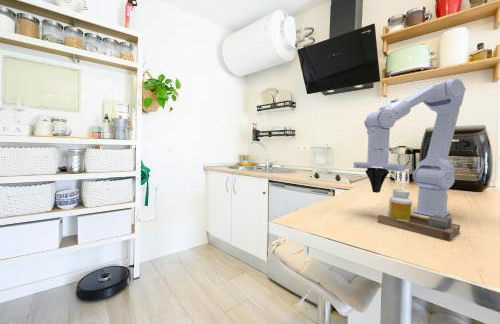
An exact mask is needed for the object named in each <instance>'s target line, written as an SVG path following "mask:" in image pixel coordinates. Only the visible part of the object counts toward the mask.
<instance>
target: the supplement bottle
mask: <svg viewBox="0 0 500 324" xmlns="http://www.w3.org/2000/svg"><path fill="white" fill-rule="evenodd" d="M410 192H411V191H410V190H407V189H400V188H399V189H398V188H394V189H392V196H390V197H389V199H388V200H389V203H388V212H387V217H392V218H396V219H403V220H407V221H409V222H410V215H411V214H412V213H411V212H412V204H413V202H412V199H411V198H409V197H410Z"/></svg>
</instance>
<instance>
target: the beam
mask: <svg viewBox="0 0 500 324" xmlns="http://www.w3.org/2000/svg"><path fill="white" fill-rule="evenodd" d="M452 221H453V218H452V217H449V216H445V217H444V216H439V215H433V216H429V217H428V218H427V217H423V216H420V215H417V214H413V213H411V215H410V222H409V221H407V220H403V219H396V218H392V217H388V215H384V214H378V216H377V223H379V224H383V225H387V226H390V227H393V228H394V227H395V228H397V229H403V230H406V231H409V232H410V231H411V232H413V233H417V234H422V235H425V236H428V237H432V238H437V239H440V240H444V241H448V242H450V241H452V240H453V239H454V238H455V237H456V236H458V234H460V229H461V225H460V224H455V223H453V222H452Z"/></svg>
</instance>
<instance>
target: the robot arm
mask: <svg viewBox="0 0 500 324" xmlns="http://www.w3.org/2000/svg"><path fill="white" fill-rule="evenodd" d="M465 92H466V87H465V85H464V82H463V81H462V79H460V78H458V77H452V78H450V79H448V80H444V81H443V80H442V81H441V82H437V83H434V84H430V85H429V84H428V85H425V86H423V87H420V88H419V89H418V90H417V91H415V92H413V93H412V94H410V95H408V96H407V97H406V98H404V99H403V98H394V99H393V98H392V99H391V100H390V103H389V104H386V105H385V106H381V107H379V110H377V111H374V112H373V111H372V112H370V113H369V114H367V116H366V117H365V120H364V121H363V123H364V126H365V128H366V132H367V133H366V134H367V159H366V160H367V162H361V161H355V162H354V161H353V168H354V169H366V170H365V174H366V175H367V178H368V180H369V182H370V186H371V189H372V193H376V194H377V193H380V192H381V190H382V187H383V184H384V181H385V179H386V178H387V177H388V175H389V173H390V171H393V172H402V173H403V172H406V164H402V163H401V164H398V163H389V158H390V157H389V153H390V134H391V133H390V131H391V128H394V125H395V124H396V122H397V121H398V120H401V119H402V118H404V117H406V116H407V115H409V114H410V112H411V109H412V108H414V107H415V106H417V105H419V104H421V103H423V104H425V106H426V107H427V108H429V110H431V111H433V112H436V118H435V122H434V126H433V129H432V130H433V131H432V133H431V139H430V142H429V146H428V150H427V154H426V157H425V158H424V159H422V160H420V161H419V162H418V163H417V166H416V168H415V169H414V171H413V173H412V179H413V182H414V183H415V184H416V187H418V194H417V208H416V209H414V210H412V213H415V214H420V215H426V216H429V217H431V216H433V215H439V216H444V217H448V215H450V214H451V212H450V211H447V209H448V208H447V207H448V193H447V190H450V188H452V186H453V185H454V183H455V180H456V176H455V171H456V167H455V166H454V165H453V164H452V163H451V162H449V161H448V157H449V153H450V150H451V146H452V142H453V138H454V133H455V129H456V127H457V126H456V125H457V122H458V119H459V113H460V108H461V106H462V104H463V101H464V96H465Z"/></svg>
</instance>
